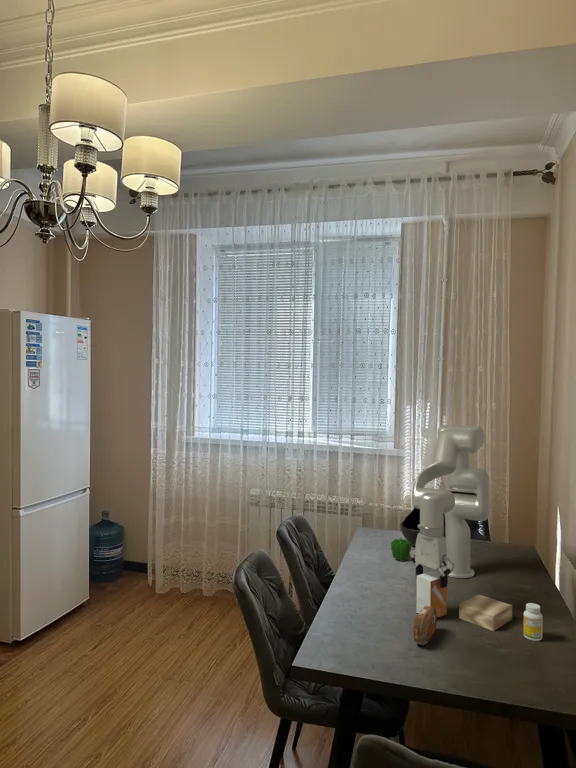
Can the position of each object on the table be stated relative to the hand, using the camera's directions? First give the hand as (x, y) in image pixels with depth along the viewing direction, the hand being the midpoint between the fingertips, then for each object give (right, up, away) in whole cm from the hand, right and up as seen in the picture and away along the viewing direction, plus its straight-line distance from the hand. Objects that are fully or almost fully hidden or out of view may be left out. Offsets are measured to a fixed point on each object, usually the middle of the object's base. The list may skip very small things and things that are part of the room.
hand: (431, 582), depth 184 cm
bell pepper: (+1, -10, +55) cm, 56 cm away
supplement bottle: (+27, -11, -15) cm, 33 cm away
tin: (-6, -12, -16) cm, 20 cm away
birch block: (+17, -11, -3) cm, 21 cm away
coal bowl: (+14, -9, +72) cm, 74 cm away
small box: (0, -11, +1) cm, 11 cm away
